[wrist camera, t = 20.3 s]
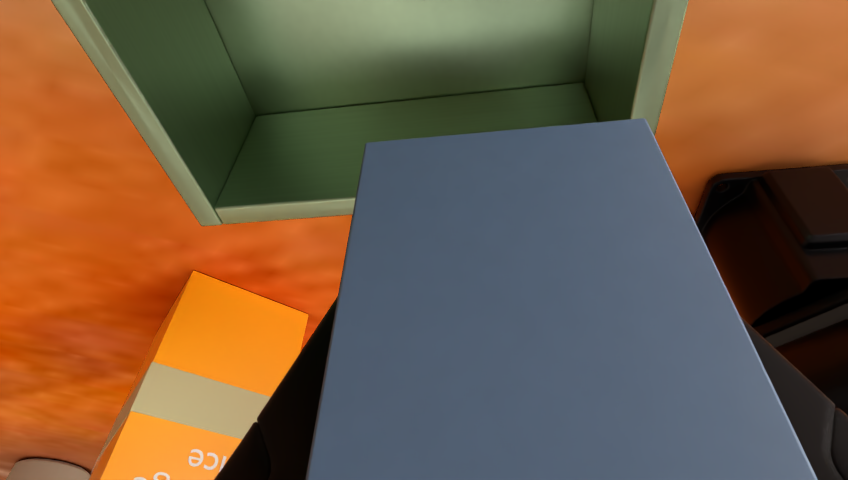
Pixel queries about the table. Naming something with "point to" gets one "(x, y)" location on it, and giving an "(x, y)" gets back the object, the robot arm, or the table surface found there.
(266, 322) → the orange juice
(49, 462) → the travel mug
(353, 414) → the blue-grey block
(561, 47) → the waste bin
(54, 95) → the table surface
